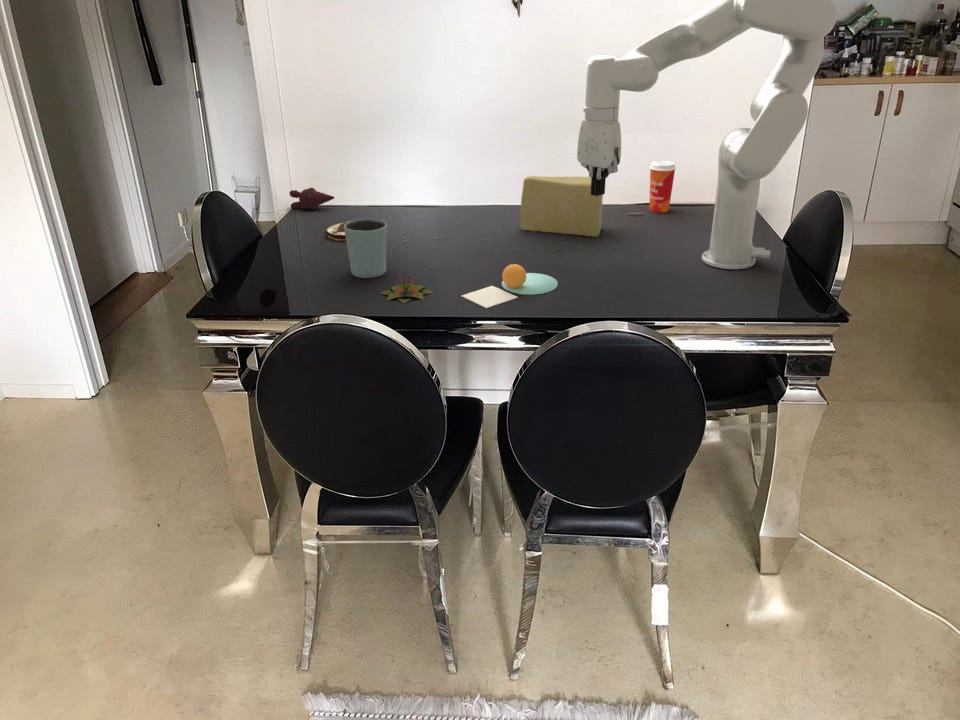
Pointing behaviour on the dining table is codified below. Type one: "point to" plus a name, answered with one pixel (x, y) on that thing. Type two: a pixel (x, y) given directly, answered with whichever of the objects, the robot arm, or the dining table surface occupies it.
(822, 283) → the dining table surface
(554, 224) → the cheese
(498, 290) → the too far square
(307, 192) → the icecream
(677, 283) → the dining table surface
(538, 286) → the disc
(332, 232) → the golden round pastry
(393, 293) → the lily flower
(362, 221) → the green ceramic cup
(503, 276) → the ball
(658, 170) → the paper cup
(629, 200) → the dining table surface
